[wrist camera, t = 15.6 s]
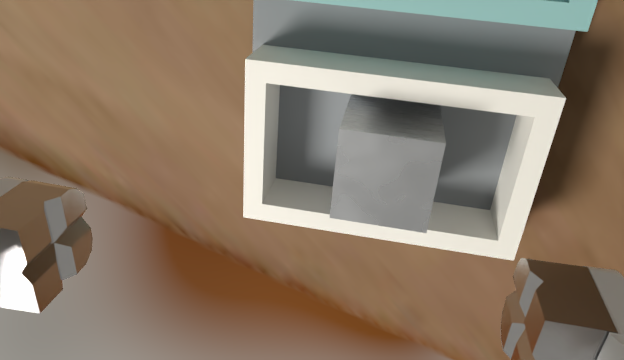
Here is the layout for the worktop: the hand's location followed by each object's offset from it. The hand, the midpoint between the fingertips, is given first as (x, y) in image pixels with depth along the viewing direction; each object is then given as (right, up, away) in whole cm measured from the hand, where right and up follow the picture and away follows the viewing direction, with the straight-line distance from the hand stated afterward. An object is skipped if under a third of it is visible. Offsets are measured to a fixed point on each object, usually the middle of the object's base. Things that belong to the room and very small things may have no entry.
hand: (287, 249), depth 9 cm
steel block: (+5, +3, +17) cm, 18 cm away
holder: (+5, +8, +16) cm, 19 cm away
